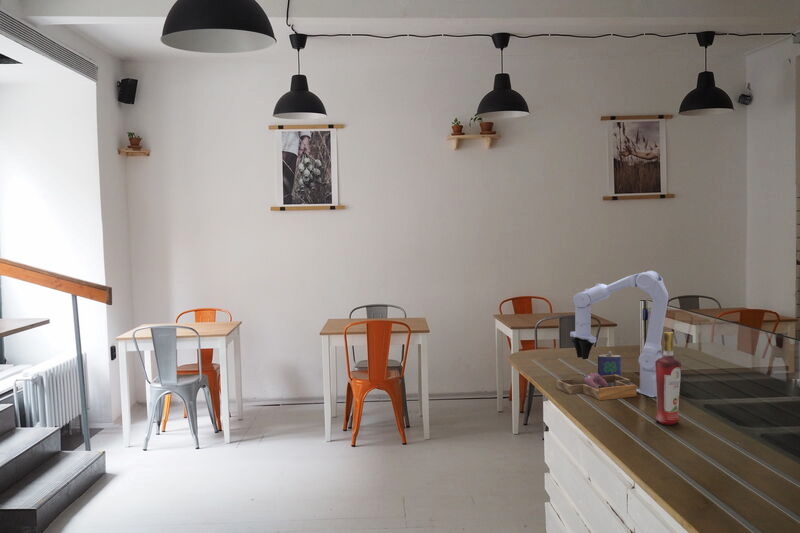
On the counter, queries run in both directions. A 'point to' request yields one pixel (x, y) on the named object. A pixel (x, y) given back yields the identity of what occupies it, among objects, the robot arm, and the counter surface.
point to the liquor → (668, 383)
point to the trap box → (616, 390)
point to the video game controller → (595, 380)
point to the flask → (609, 364)
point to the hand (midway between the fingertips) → (582, 358)
